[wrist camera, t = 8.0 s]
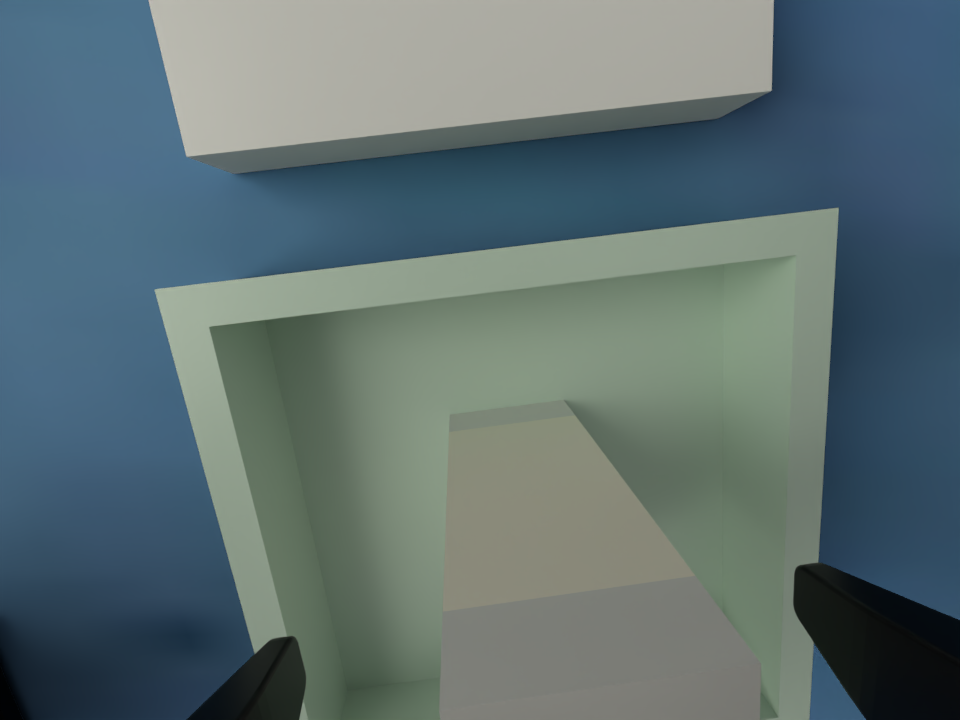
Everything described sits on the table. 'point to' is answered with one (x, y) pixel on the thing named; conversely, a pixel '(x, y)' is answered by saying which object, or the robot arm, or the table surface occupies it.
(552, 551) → the block
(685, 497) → the parts tray
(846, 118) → the table surface
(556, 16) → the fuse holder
